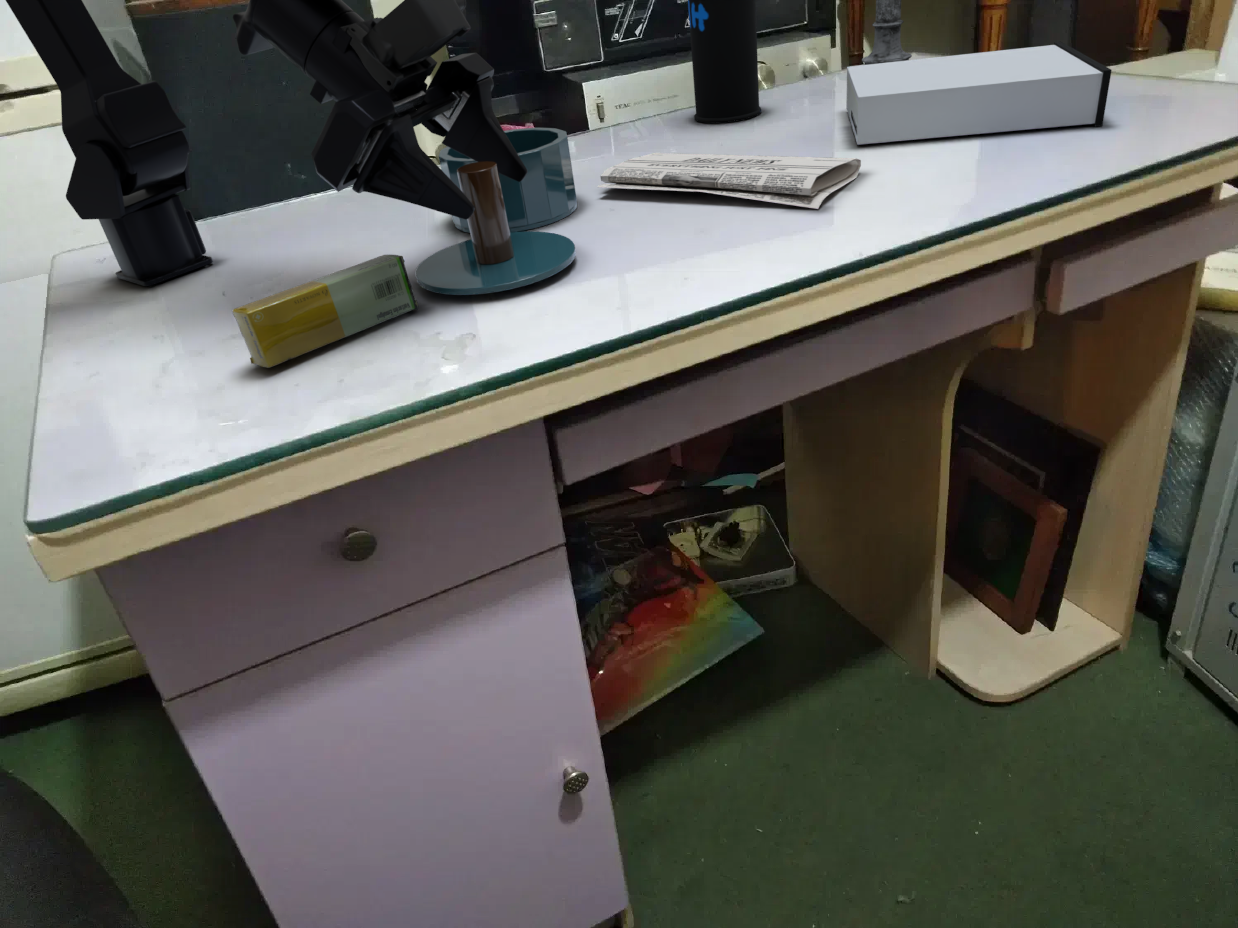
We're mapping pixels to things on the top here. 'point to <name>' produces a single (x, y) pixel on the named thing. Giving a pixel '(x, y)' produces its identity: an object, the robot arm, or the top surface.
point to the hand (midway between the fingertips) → (499, 194)
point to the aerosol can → (724, 59)
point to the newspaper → (737, 176)
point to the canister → (529, 179)
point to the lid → (492, 245)
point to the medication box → (325, 310)
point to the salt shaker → (887, 34)
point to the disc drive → (976, 94)
